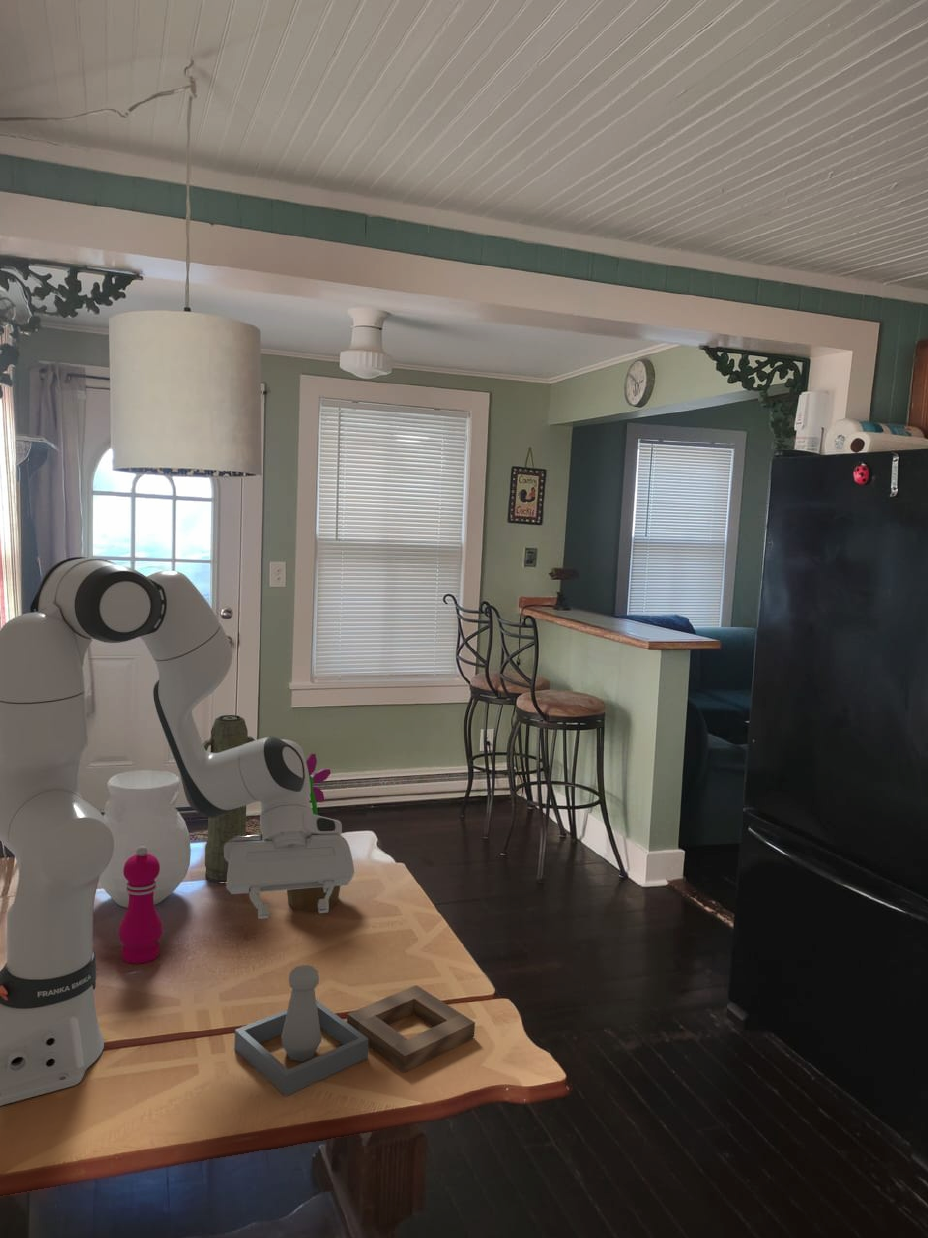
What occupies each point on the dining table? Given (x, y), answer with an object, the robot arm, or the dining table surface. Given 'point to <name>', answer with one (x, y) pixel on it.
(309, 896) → the flowerpot
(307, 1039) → the salt shaker
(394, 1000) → the brown square frame
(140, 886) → the pepper mill
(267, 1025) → the blue square frame
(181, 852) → the pitcher
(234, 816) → the thermos
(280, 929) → the dining table surface
